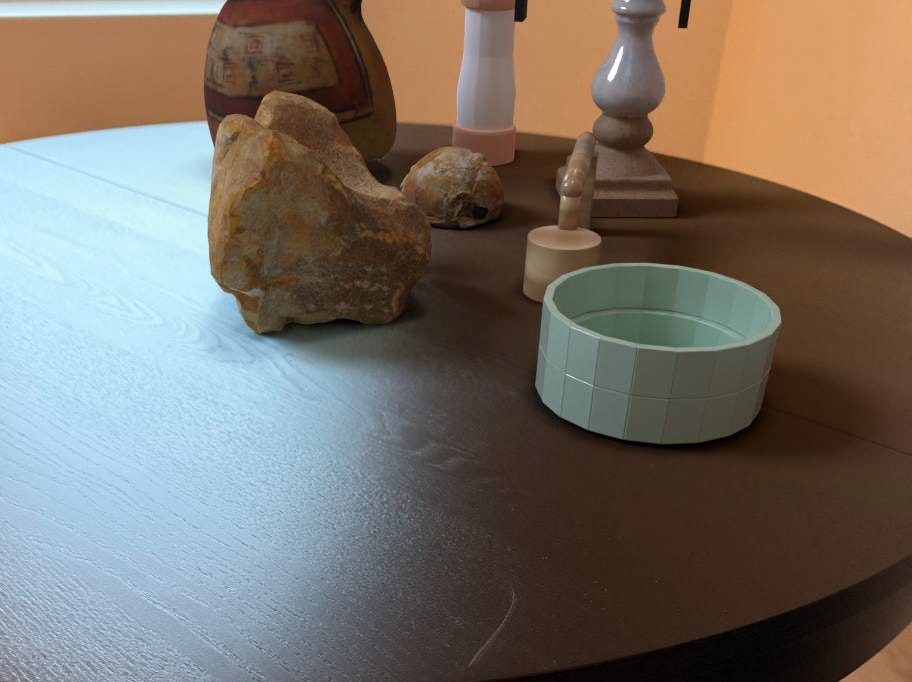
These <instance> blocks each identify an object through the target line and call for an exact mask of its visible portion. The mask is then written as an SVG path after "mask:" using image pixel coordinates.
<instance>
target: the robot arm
mask: <svg viewBox="0 0 912 682" xmlns="http://www.w3.org/2000/svg"><path fill="white" fill-rule="evenodd" d="M528 2H529V0H515V11H514V22H515V23H524V21H525V20H526V19H527V17H528ZM691 4H692V0H681V1H680V7H679V13H678V14H679V15H678V22H677V29H688V25H689V19H690V18H689V17H690V12H691Z"/></svg>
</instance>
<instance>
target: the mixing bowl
mask: <svg viewBox="0 0 912 682" xmlns="http://www.w3.org/2000/svg"><path fill="white" fill-rule="evenodd" d="M541 309H542V311H541V320H540V321H541V322H540V332H539V342H538V354H537V363H536V365H537V366H536V375H535V384H534V385H535V388H536V391H537V393H538V396H539V398H540V400H541V402H542V403H543V404H544V405H545V406H546V407H547V408H549V409H550V410H551V411H552V412H553V413H554V414H555V415H557V416H558V417H559V418H561V419H563V420H565V421H568V422H569V423H572V424H574V425H575V426H578V427H580V428H582V429H584V430H586V431H589V432H592V433H596V434H599V435H604V436H607V437H610V438H614V439H619V440H622V441H623V440H624V441H631V442H639V443H648V444H657V445H676V444H677V445H679V444H698V443H699V444H700V443H704V442H708V441H712V440H717V439H721V438H726V437H727V438H728V437H730V436H732V435H734V434H736V433H738V432H740V431H741V430H743V429H746V428H747V427H749V426H751V425H752V423H753V421H754V420H755V419H756V417H757V416H758V414H759V413H760V411H761V409H762V405H763V401H764V397H765V392H766V388H767V384H768V380H769V376H770V372H771V367H772V364H773V359H774V355H775V351H776V347H777V343H778V339H779V335H780V331H781V327H782V323H783V322H782V316H781V310H780V307H779V306H778V304H776V303H775V302H774V301H773V300H772V299H771V298H770V297H769V296H768V295H767V294H766V293H765V292H763V291H761V290H759V289H757V288H755V287H753V286H752V285H750V284H748V283H746V282H744V281H741V280H738V279H735V278H732V277H729V276H726V275H723V274H721V273H717V272H714V271H709V270H704V269H700V268H694V267H690V266H683V265H677V264H676V265H675V264H665V263H653V262H621V263H620V262H618V263H617V262H616V263H608V264H599V266H593V267H586V268H582V269H579V270H576V271H573V272H570V273H567V274H564V275H562V276H560V277H559V278H558V279H556V280H555V281H554V282H552V283H551V284H550V285H548V286H547V289H546V292H545V296H544V299H543V303H542V308H541Z"/></svg>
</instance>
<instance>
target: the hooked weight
mask: <svg viewBox="0 0 912 682" xmlns="http://www.w3.org/2000/svg"><path fill="white" fill-rule="evenodd" d="M596 144H597V140H596V138H595V136H594V134H593V132H592V131H583V132H582V133H580V134H579V136H578V137H577V139H576V142H575V144H574V148H573V150H572V153H571V154H570V155H571V158H570V161H569V164H568V167H567V170H566V173H565V175H564V178H563V181H562V184H561V187H560V192H561V197H560V201H559V211H558V212H559V213H558V220H557V221H558V222H557V225H546V226H541V227H537V228H534V229H532V230H530V231H529V232H528V234H527V236H526V249H525V260H524V261H525V262H524V273H523V274H524V275H523V286H522V291H523V294H524V296H526V297H528V299H531V300H533V301H536V302H537V303H542V304H543V299H544V296H545V292H546V289H547V286H548V285H550V284H551V283H552V282H554V281H555V280H556V279H558V278H559V277H560V276H562V275H564V274H567V273H570V272H573V271H576V270H579V269H582V268H586V267H593V266H599V265H600V257H601V250H602V241H603V240H602V237H601V235H599V234H598V233H596V232H594V231H592V230H591V223H592V217H591V215H592V206H593V198H594V189H595V181H596V172H597V164H598V155H599V152H598V151H594V150H595V146H596Z"/></svg>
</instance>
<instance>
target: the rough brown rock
mask: <svg viewBox="0 0 912 682" xmlns="http://www.w3.org/2000/svg"><path fill="white" fill-rule="evenodd" d="M213 149H214V150H213V155H212V166H211V167H212V168H211V177H210V178H211V181H210V193H209V194H210V195H209V203H208V213H207V235H206V236H207V242H208V260H209V266H210V267H209V268H210V275H211V276H212V278H213V280H214V282H216V284H217V285H218V287H220V289H221V290H222V292H224V293H228V294H231V295H233V296H234V298H235V301H236V306H237V309H238V312H239V314H240V315H241V317H242V319H243V321H244V322H245V325H246V326H247V327H248V328H249V329H250V330H252V331H253V332H254V333H256V334H259V335H260V334H264V333H265V334H266V333H271V332H281V331H283V329H284V328H285V327H286V326H287V325H288V324H290V323H292V322H293V323H296V324H300V325H308V326H310V325H314V324H325V323H328V322H333V321H335V320H337V319H338V320H339V319H345V320H346V319H347V320H352V321H358V322H360V323H362V324H363V325H382V324H389V323H391V322H393V321H395V320H396V319H397V318H398V317H399V316H400V315H401V313H402V311H403V310H404V308H405V305H406V302H407V300H408V297H409V295H410V293H412V292H411V291H412V290H413V288H414V287H415V286H416V284H417V283H418V281H420V279H421V278H422V275H423V273H424V271H425V269H427V267H428V266H429V265H430V263H431V260H432V248H433V243H432V237H431V233H430V232H431V229H432V225H430V222H429V219H428V216H427V215H426V214H425V212H424V211H423V210H422V209H421V208H420V207H419V206H418V204H417V203H415V202H413V200H412V199H411V198H410V197H408V196H407V195H405V194H404V193H403V192H401V189H399V188H397V187H396V186H391V185H385V184H382V183H381V182H379V181H378V180H377V178H375V177H374V175H373V174H372V172H371V171H370V170H369V168H368V166H367V164H365V161H364V159H363V157H362V155H361V153H360V152H359V151H358V150H357V149H356V148H355V147H354V146H353V144H352V142H351V140H350V138H349V136H348V135H347V134H346V133H345V132H344V131H343V129H342V128H341V127H340V126H339V123H338V121H337V118H336V115H335V113H332V112H330V111H329V110H328V109H327V108H325V107H323V106H321V105H320V104H318V103H316V102H314V101H313V100H311V99H309V98H306V97H304V96H300V95H296V94H292V93H287V92H281V91H275V90H274V91H273V92H271V93H269V94H267V95H266V96H264V98H263V100H262V102H261V104H260V107H259V109H258V111H257V114H256V116H255V118H254V119H252V118H250V117H248V116H246V115H241V114H232V115H228V116H226V117H225V118H224V119H223V121H222V122H221V123H220V125H219V128H218V131H217V136H216V142H215V148H213Z"/></svg>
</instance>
